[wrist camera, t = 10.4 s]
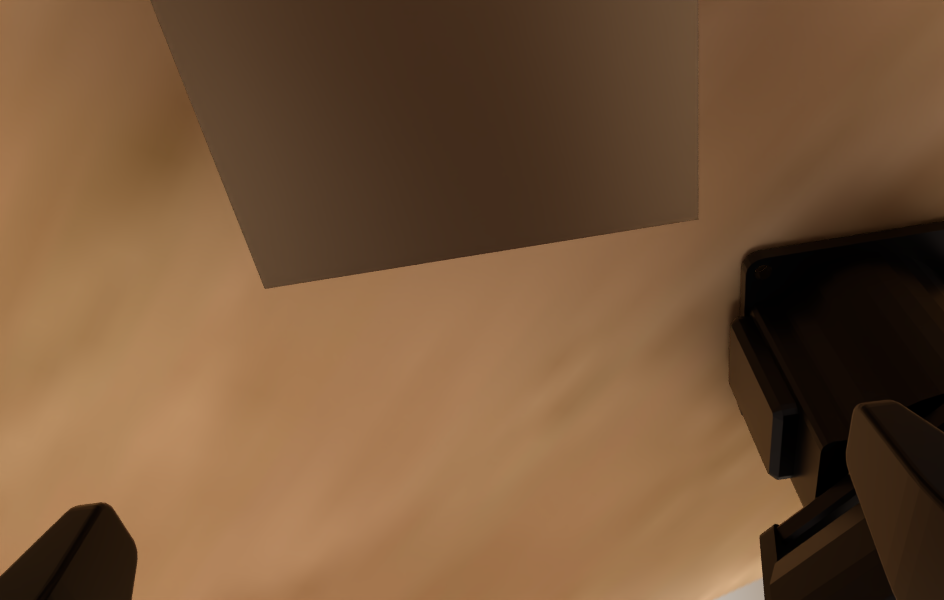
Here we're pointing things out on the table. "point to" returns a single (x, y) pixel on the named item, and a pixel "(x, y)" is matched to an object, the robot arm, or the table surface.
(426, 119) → the brown block
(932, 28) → the table surface
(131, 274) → the table surface
